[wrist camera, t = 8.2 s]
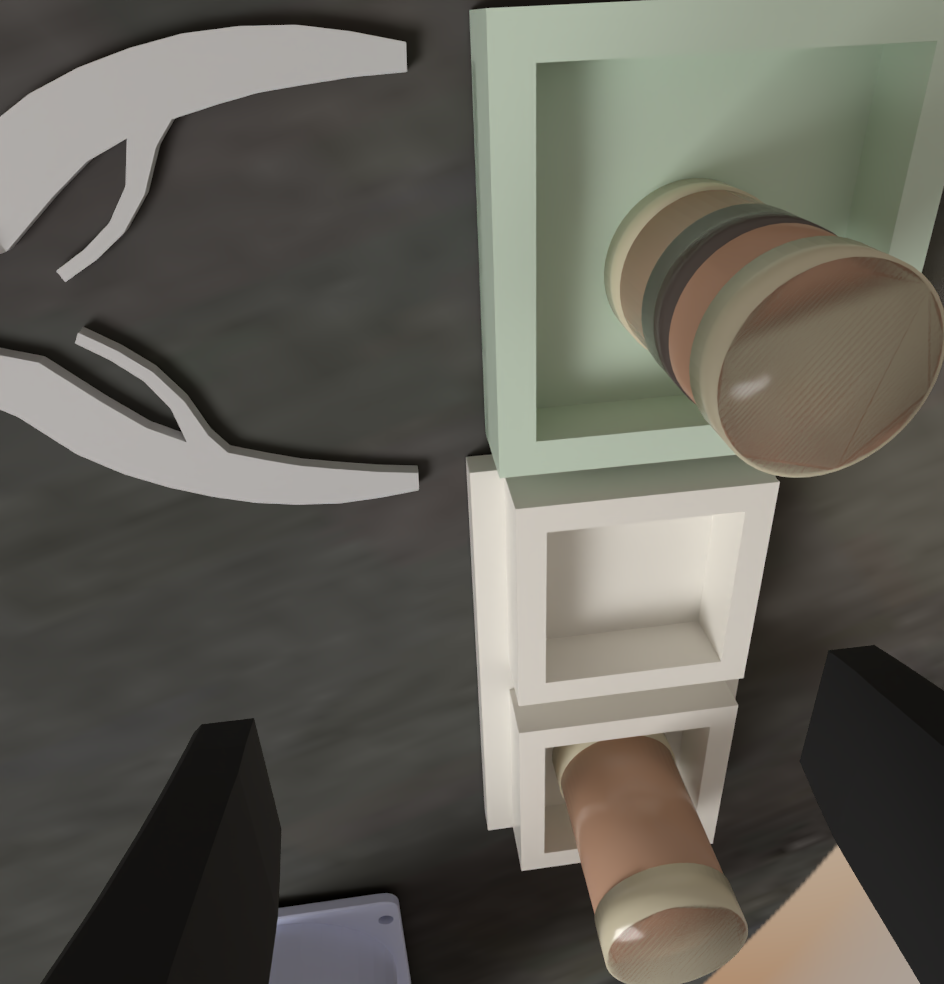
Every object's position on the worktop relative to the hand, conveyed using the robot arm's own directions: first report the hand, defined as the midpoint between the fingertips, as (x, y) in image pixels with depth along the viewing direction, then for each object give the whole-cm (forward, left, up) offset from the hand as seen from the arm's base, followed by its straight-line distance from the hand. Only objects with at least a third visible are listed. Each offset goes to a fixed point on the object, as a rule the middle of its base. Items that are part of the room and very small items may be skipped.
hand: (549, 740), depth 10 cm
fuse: (-11, -4, -9) cm, 15 cm away
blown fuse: (+3, -5, -9) cm, 11 cm away
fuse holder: (-8, -4, -10) cm, 13 cm away
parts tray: (+4, -5, -10) cm, 12 cm away
